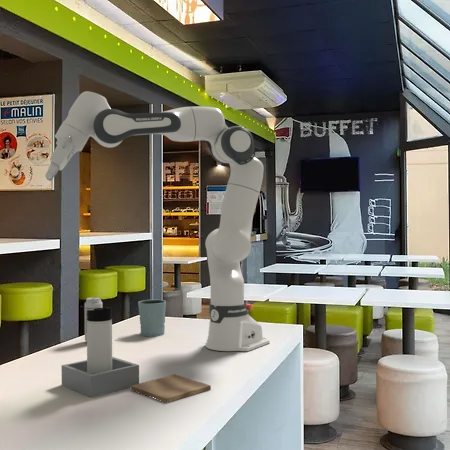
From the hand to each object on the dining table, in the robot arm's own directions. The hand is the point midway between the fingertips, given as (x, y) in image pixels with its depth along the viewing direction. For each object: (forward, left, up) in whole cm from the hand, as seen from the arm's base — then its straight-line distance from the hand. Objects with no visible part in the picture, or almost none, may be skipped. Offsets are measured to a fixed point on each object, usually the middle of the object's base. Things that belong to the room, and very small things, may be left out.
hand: (47, 179), depth 165 cm
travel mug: (+3, +33, -55) cm, 64 cm away
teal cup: (-44, -7, -55) cm, 71 cm away
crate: (+3, +33, -54) cm, 64 cm away
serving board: (-7, +49, -54) cm, 73 cm away
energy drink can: (-22, -11, -55) cm, 60 cm away
